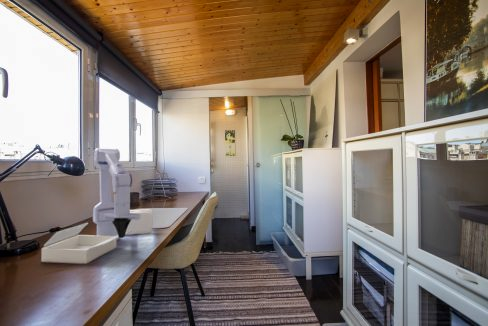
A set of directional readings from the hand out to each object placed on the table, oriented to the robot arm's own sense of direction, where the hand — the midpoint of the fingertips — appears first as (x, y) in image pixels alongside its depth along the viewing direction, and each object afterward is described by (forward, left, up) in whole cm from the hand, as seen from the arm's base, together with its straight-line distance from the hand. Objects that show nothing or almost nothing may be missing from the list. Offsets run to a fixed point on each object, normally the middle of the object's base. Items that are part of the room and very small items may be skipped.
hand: (121, 237), depth 98 cm
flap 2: (0, -4, -1) cm, 5 cm away
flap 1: (0, -23, +1) cm, 23 cm away
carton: (0, -17, -7) cm, 19 cm away
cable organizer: (-34, -12, -8) cm, 37 cm away
